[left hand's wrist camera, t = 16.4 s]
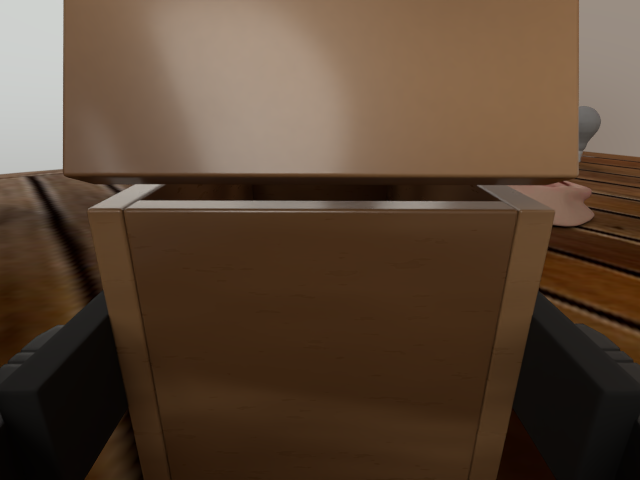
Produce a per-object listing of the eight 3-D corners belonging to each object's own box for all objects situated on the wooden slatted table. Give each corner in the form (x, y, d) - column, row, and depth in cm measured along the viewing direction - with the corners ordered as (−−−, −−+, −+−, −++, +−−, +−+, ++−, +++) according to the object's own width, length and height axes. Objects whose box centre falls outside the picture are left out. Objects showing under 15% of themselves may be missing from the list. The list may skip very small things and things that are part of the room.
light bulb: (561, 165, 71) (573, 106, 68) (548, 160, 77) (558, 105, 73) (597, 166, 71) (611, 107, 67) (581, 160, 76) (594, 105, 73)
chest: (248, 285, 28) (238, 130, 24) (390, 285, 28) (401, 131, 24) (155, 541, 12) (84, 208, 8) (482, 541, 12) (556, 210, 8)
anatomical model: (614, 190, 36) (480, 179, 41) (603, 231, 38) (475, 216, 42) (590, 167, 48) (487, 160, 52) (582, 199, 49) (483, 190, 54)
